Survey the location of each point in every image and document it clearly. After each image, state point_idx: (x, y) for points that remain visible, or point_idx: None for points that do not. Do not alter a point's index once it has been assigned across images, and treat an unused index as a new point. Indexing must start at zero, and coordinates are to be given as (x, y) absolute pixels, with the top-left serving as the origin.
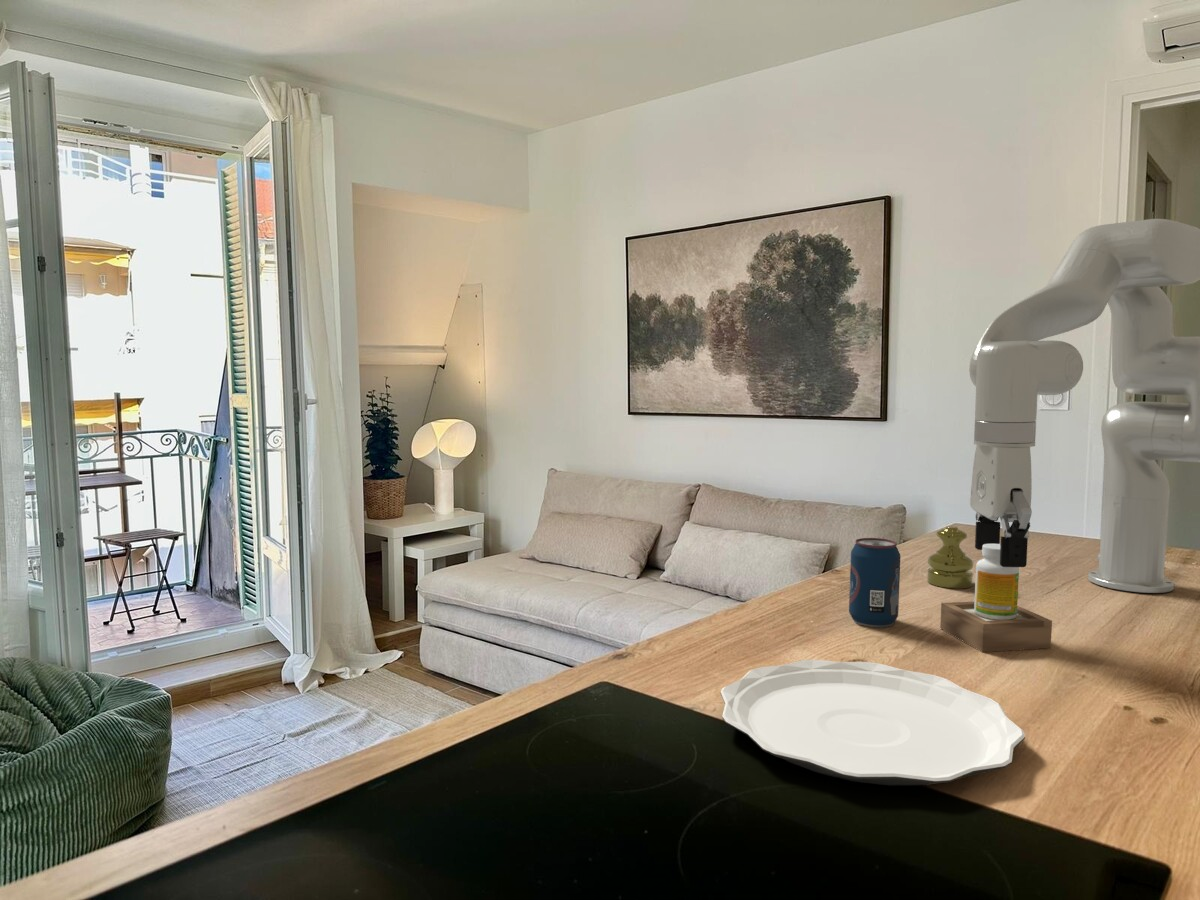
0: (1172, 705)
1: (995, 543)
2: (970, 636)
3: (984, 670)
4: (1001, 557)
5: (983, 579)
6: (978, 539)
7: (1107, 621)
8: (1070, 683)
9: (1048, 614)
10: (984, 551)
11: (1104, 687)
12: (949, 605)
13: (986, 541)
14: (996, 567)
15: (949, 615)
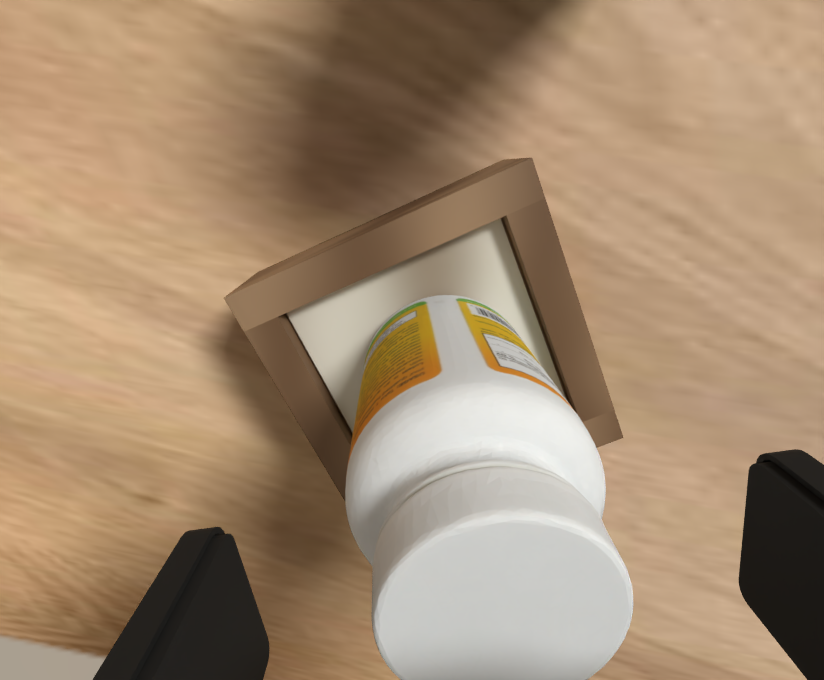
0: (28, 618)
1: (773, 611)
2: (316, 248)
3: (63, 248)
4: (157, 579)
5: (390, 381)
6: (819, 519)
7: (666, 646)
8: (70, 459)
9: (727, 532)
10: (457, 492)
11: (81, 525)
12: (490, 192)
13: (794, 566)
14: (355, 491)
15: (456, 188)
